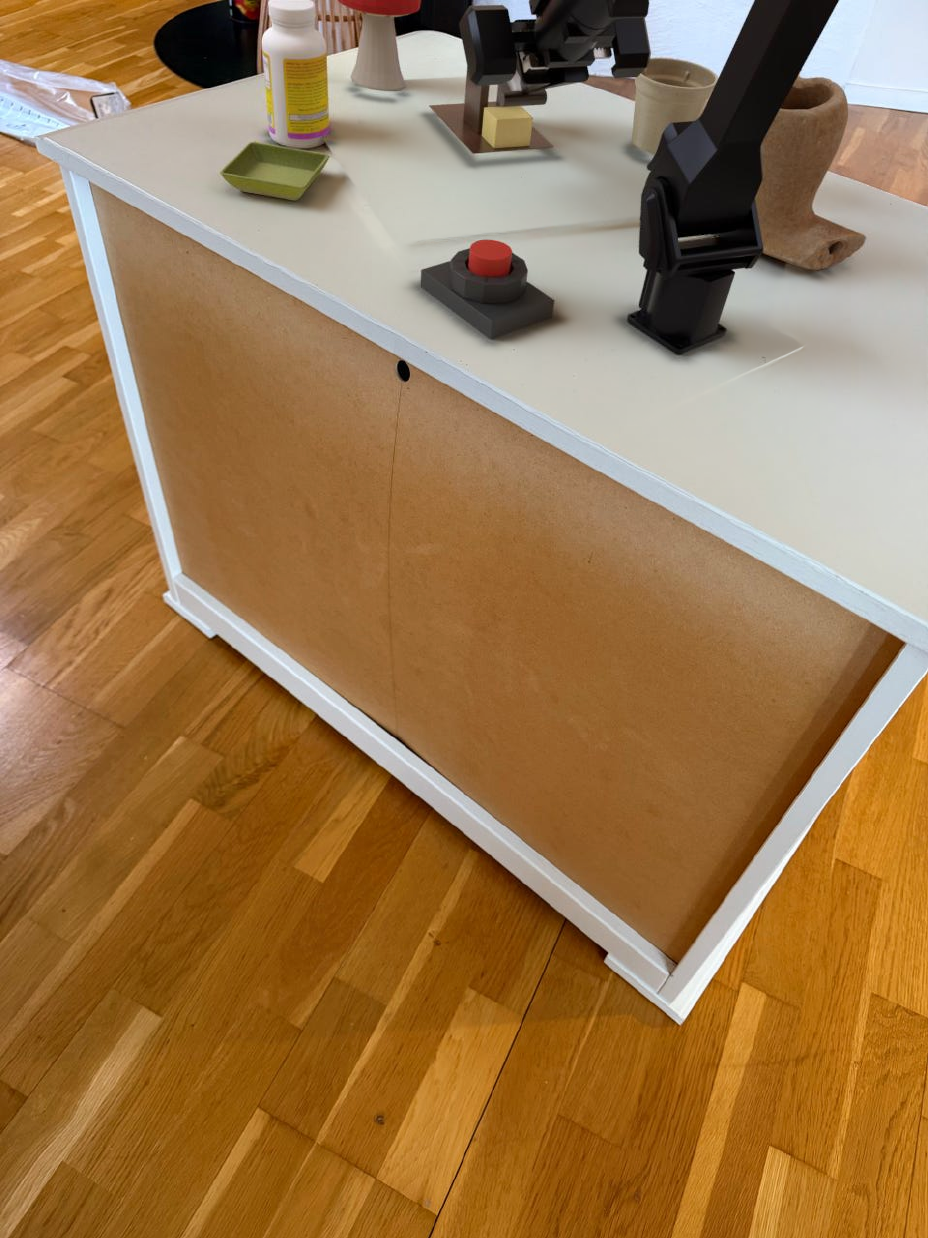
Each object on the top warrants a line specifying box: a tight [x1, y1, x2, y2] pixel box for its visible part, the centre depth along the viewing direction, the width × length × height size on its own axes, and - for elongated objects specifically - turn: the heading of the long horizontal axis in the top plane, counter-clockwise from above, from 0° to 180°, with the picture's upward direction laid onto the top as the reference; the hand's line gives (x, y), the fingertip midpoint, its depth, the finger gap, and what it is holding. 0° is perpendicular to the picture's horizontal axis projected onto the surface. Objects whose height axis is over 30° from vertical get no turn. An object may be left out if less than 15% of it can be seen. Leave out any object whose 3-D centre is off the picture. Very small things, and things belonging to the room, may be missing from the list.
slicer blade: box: [499, 70, 548, 107], centre depth 96 cm, size 10×5×2 cm, turn 22°
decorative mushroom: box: [337, 0, 422, 92], centre depth 104 cm, size 10×9×15 cm
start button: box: [468, 239, 513, 278], centre depth 76 cm, size 4×4×2 cm
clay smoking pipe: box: [755, 76, 867, 271], centre depth 85 cm, size 15×12×15 cm
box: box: [420, 247, 556, 340], centre depth 77 cm, size 10×7×4 cm
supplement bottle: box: [261, 0, 330, 149], centre depth 94 cm, size 7×7×13 cm
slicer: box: [428, 63, 555, 155], centre depth 100 cm, size 14×10×11 cm
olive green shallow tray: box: [219, 141, 331, 201], centre depth 90 cm, size 9×9×2 cm
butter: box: [482, 106, 534, 149], centre depth 99 cm, size 4×4×3 cm
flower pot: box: [631, 56, 719, 155], centre depth 101 cm, size 9×9×9 cm
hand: (524, 87), depth 93 cm, fingers closed
